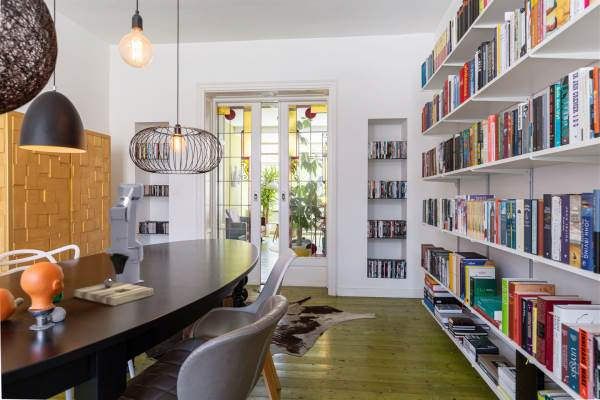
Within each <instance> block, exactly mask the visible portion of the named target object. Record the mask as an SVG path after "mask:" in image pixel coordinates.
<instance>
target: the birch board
mask: <svg viewBox="0 0 600 400" xmlns="http://www.w3.org/2000/svg"><path fill="white" fill-rule="evenodd" d="M153 295H154V287H148V286H147V287H146V286H141V285H136V284H126V283H120V282H116V280H115V281H113V284H112V286H111V287H105V286H104V283H99V284H96V285H91V286H86V287H81V288H77V289H74V297H76V298H80V299H82V300H83V299H84V300H88V301H92V302H97V303H102V304H105V305H110V306H118V305H122V304H125V303H130V302H132V301H136V300H140V299H143V298H146V297H151V296H153Z"/></svg>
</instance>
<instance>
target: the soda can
mask: <svg viewBox="0 0 600 400" xmlns="http://www.w3.org/2000/svg"><path fill="white" fill-rule="evenodd" d="M59 267H60V268H61V269H62V272H63V273H64V269H63V267H61V266H59ZM63 292H64V290H63V291H62V292H61V293H60V294H59V295H57V296H56V297H54V299H53V302H54V303H59V302H62V301H63V299H64V293H63Z"/></svg>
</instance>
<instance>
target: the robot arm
mask: <svg viewBox="0 0 600 400" xmlns="http://www.w3.org/2000/svg"><path fill="white" fill-rule="evenodd" d="M117 196H118V198H116V200H115V203H114V206H113V207H111V208H109V211H108V219H109V227H110V247H108V248H105V251H104V252H105V254H106V255H109V254H110V255H109V260H110V261H111V263H112V266H113V268H114V272H115V274H116V280H115V282H120V283H126V284H132V285H136V284H139V283H143V282H145V280H141V279H140V262H142V261H143V260H144V246H143V244H142V243H141V242H140V241H138V239H137V237H138V235H137V233H138V232H137V231H138V230H137V229H138V208H139V205H140V204H141V203H143V200H144V184H143V183H128V182H126V183H123V182H120V183H118V185H117Z"/></svg>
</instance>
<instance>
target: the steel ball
mask: <svg viewBox="0 0 600 400" xmlns="http://www.w3.org/2000/svg"><path fill="white" fill-rule="evenodd" d="M113 282H114V281H113V280H112V279H111V278H107V279H105V280H104V281H103V284H104V286H105V287H111V286H112V284H113Z"/></svg>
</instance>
